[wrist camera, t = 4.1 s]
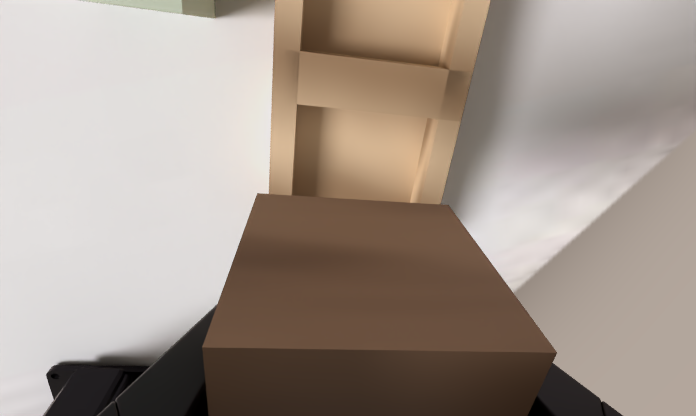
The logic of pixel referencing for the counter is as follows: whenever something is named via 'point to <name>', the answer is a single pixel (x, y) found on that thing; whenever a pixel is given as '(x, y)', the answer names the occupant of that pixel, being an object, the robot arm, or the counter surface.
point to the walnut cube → (367, 317)
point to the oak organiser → (370, 96)
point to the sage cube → (168, 6)
